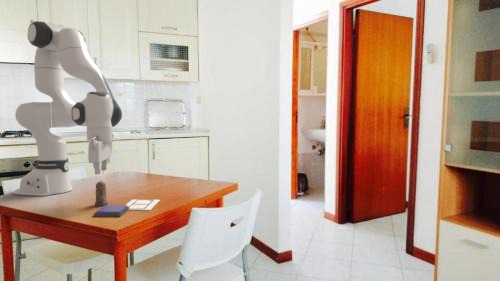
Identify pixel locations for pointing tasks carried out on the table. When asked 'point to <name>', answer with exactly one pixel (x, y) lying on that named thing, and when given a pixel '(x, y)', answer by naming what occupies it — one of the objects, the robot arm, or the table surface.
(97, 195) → the stamp
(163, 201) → the table surface
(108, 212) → the inkpad
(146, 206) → the sheet
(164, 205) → the table surface
